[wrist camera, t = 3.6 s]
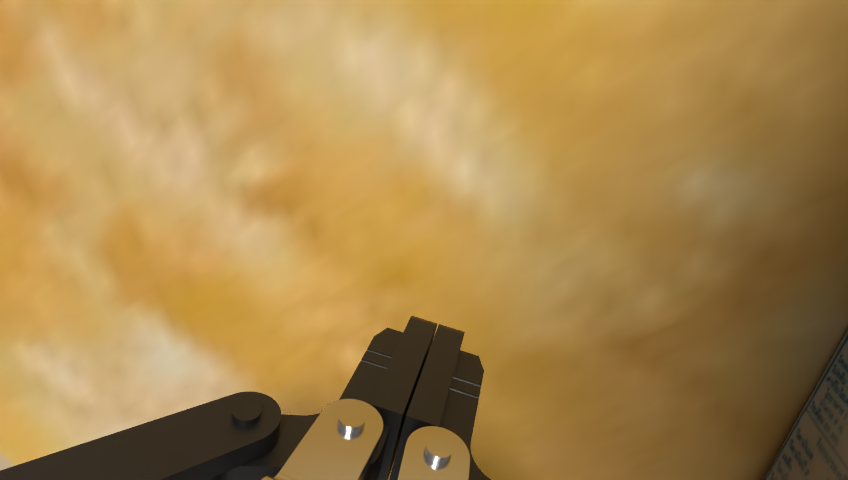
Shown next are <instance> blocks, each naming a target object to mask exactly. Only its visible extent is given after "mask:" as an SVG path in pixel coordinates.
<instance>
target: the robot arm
mask: <svg viewBox="0 0 848 480" xmlns="http://www.w3.org/2000/svg"><path fill="white" fill-rule="evenodd" d="M436 327H437V323H433V322H430V321H427V320H424V319H420V318H417V317H414V316H411V318H410V320H409V322H408V324H407V326H406V328H405V331H404V333H403V332H399V331H396V330H393V329H390V328H387V329H385V330H383V331H382V332H380V333H379V334H377V335H376V336H374V338H373V340H372V341H371V343H370V345H369V347H368V349H367V351H366V352H365V354H364V356H363V358H362V360H361V361H360V363H359V365H358V367H357V369H356V370H355V372H354V374H353V376H352V378H351V379H350V381H349V383H348V385H347V387H346V389H345V390H344V392H343V394H342V396H341V398H340V399H339V400H337V401H335V402H332V403H331V404H329V405H328V406H326V407H325V408H324V409H323V411H322V412H321V413H319V414H315V415H308V416H299V415H281V410H280V407H279V405H278V404H277V403H276V401H275V400H273V399H272V398H271V397H269V396H267V395H265V394H262V393H258V392H240V393H236V394H233V395H230V396H227V397H224V398H220V399H217V400H214V401H211V402H208V403H205V404H202V405H199V406H196V407H193V408H190V409H187V410H184V411H181V412H178V413H175V414H172V415H169V416H166V417H163V418H160V419H157V420H154V421H150V422H147V423H144V424H141V425H138V426H135V427H132V428H129V429H126V430H123V431H120V432H117V433H114V434H111V435H108V436H105V437H102V438H99V439H96V440H93V441H90V442H87V443H83V444H80V445H77V446H74V447H71V448H68V449H65V450H62V451H59V452H56V453H53V454H50V455H47V456H44V457H41V458H38V459H35V460H32V461H29V462H26V463H23V464H20V465H16V466H13V467H10V468H7V469H4V470H1V471H0V480H387V479H388V477H389V474H390V471H391V468H392V465H393V468H392V472H391V476H390V480H490V479H489V478H488V477H487V476H485V475H484V474H483V473H482V472H481V470H480V469H479V468H478V467H477V465H476V463H475V462H474V460H473V457H472V454H471V449H470V443H471V437H472V432H473V426H474V421H475V416H476V410H477V405H478V400H479V394H480V389H481V384H482V378H483V373H484V370H483V367H482V364H481V362H480V359H479V356H476V355H473V354H470V353H467V352H464V351H460V347H461V344H462V340H463V336H464V333H465V332H463V331H460V330H456V329H453V328H450V327H447V326H443V325H440V324H439V326H438V329H437V331H436ZM435 331H436V334H435ZM434 335H435V337H434ZM433 338H434V340H433ZM393 462H394V464H393Z"/></svg>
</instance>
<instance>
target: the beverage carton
mask: <svg viewBox="0 0 848 480" xmlns="http://www.w3.org/2000/svg"><path fill="white" fill-rule="evenodd" d="M764 480H848V330H847V331H846V333H845V335H844V337H843V339H842V341H841V342H840V344H839V346H838V348H837V349H836V351H835V353H834V355H833V357H832V358H831V360H830V362H829V364H828V365H827V367H826V369H825V371H824V373H823V374H822V376H821V378H820V380H819V382H818V383H817V385H816V387H815V389H814V391H813V393H812V394H811V396H810V398H809V399H808V401H807V403H806V404H805V406H804V408H803V409H802V411H801V413H800V414H799V416H798V418H797V420H796V422H795V424H794V425H793V427H792V429H791V431H790V433H789V435H788V436H787V438H786V440H785V442H784V444H783V446H782V448H781V450H780V452H779V453H778V455H777V457H776V459H775V461H774V463H773V465H772V467H771V468H770V470H769V471H768V473H767V474H766V476H765V478H764Z"/></svg>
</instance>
